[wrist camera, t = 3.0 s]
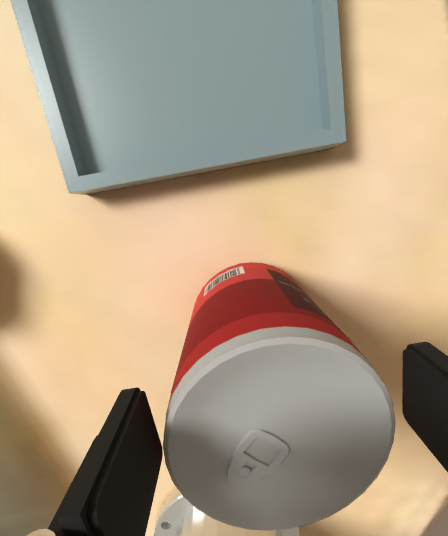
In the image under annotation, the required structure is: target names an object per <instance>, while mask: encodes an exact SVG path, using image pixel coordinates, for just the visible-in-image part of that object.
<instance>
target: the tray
mask: <svg viewBox="0 0 448 536" xmlns="http://www.w3.org/2000/svg"><path fill="white" fill-rule="evenodd" d="M10 1H11V4H12V7H13V11H14V14H15V17H16V20H17V24H18V27H19V30H20V34H21V37H22V40H23V44H24V47H25V50H26V53H27V57H28V60H29V63H30V67H31V70H32V73H33V76H34V80H35V83H36V86H37V90H38V93H39V96H40V99H41V103H42V106H43V109H44V113H45V116H46V119H47V122H48V126H49V129H50V132H51V136H52V139H53V142H54V145H55V149H56V152H57V155H58V159H59V162H60V165H61V168H62V172H63V175H64V178H65V182H66V185H67V188H68V191H69V193H70V194H85V195H87V194H92V193H97V192H103V191H108V190H113V189H119V188H124V187H129V186H135V185H140V184H145V183H151V182H156V181H161V180H167V179H172V178H177V177H183V176H188V175H193V174H199V173H204V172H209V171H215V170H220V169H225V168H231V167H236V166H241V165H247V164H252V163H257V162H263V161H268V160H273V159H279V158H284V157H289V156H295V155H300V154H305V153H310V152H316V151H321V150H326V149H332V148H334V147H336V146H338V145H340V144H342V143H344V142H346V126H345V111H344V96H343V80H342V65H341V49H340V34H339V18H338V3H337V0H10Z"/></svg>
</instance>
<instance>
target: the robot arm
mask: <svg viewBox="0 0 448 536" xmlns="http://www.w3.org/2000/svg"><path fill="white" fill-rule="evenodd" d="M403 415H404V417H405V419H406V421H407V423H408V424H409V425H410V426H411V428H412V429H413V430H414V431H415V433H416V434H417V435H418V436H419V438H420V439H421V440H422V441H423V442H424V444H425V445H426V446H427V447H428V449H429V450H430V451H431V452H432V453H433V455H434V456H435V457H436V458H437V460H438V461H439V462H440V463H441V465H442V466H443V467H444V468H445V469H446V471H447V472H448V356H447V355H445V354H444V353H443V352H441V351H440V350H438V349H437V348H436V347H434V346H433V345H431V344H430V343H428V342H421V343H415V344H409V345H408V346H407V348H406V349H405V350H404V351H403ZM161 461H162V445H161V442H160V439H159V436H158V432H157V429H156V426H155V423H154V419H153V416H152V413H151V410H150V406H149V403H148V400H147V397H146V394H145V392H144V391H140V389H139V388H131V389H125V390H122V391H121V392H120V394H119V396H118V398H117V400H116V402H115V404H114V406H113V408H112V410H111V412H110V414H109V415H108V417H107V419H106V421H105V423H104V425H103V427H102V429H101V431H100V433H99V435H98V436H96V438H95V439H94V441H93V443H92V445H91V447H90V449H89V450H88V452H87V454H86V456H85V458H84V460H83V462H82V464H81V466H80V468H79V470H78V472H77V474H76V476H75V477H74V479H73V481H72V483H71V485H70V487H69V489H68V491H67V493H66V495H65V497H64V499H63V501H62V503H61V504H60V506H59V508H58V510H57V512H56V514H55V516H54V518H53V520H52V522H51V524H50V526H49V528H48V529H40V530H37V531H34V532H32V533H29V534H28V535H26V536H145V533H146V528H147V524H148V519H149V515H150V510H151V506H152V502H153V497H154V493H155V488H156V484H157V479H158V475H159V470H160V466H161ZM154 536H300V529H299V527H296V528H292V529H284V530H273V531H264V530H249V529H244V528H239V527H234V526H230V525H227V524H225V523H222V522H220V521H217V520H215V519H212V518H211V517H209V516H207V515H206V514H204V513H203V512H201V511H199V510H198V509H196V508H195V507H194V506H193V505H192V504H191V503H190V502H189V501H188V500H186V499H185V498H184V497H183V496H182V494H181V493H180V491H179V490H178V489H177V490H175V491H174V492H173V493H172V494H171V495H170V496H169V497H168V498H167V499H166V501H165V502H164V504H163V505H162V507H161V509H160V511H159V514H158V517H157V522H156V527H155V533H154Z"/></svg>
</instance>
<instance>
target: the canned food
mask: <svg viewBox="0 0 448 536" xmlns="http://www.w3.org/2000/svg"><path fill="white" fill-rule="evenodd" d="M394 431H395V416H394V409H393V403H392V400H391V398H390V395H389V393H388V391H387V388H386V386H385V384H384V383H383V381H382V380H381V379H380V377H379V376H378V374H377V372H376V371H375V370H374V368H373V367H372V366H371V364H370V363H369V362H368V360H367V359H366V357H365V356H364V355H363V354H362V353H361V352H360V351H359V350H358V349H357V348H356V347H355V346H354V345H353V343H352V342H351V341H350V340H349V339H348V337H347V336H346V335H345V334H344V333H343V332H342V331H341V330H340V329H339V328H338V327H337V326H336V325H335V324H334V323H333V322H332V321H331V320H330V319H329V318H328V317H327V316H326V315H325V313H324V312H323V311H322V310H321V309H320V308H319V307H318V306H317V305H316V304H315V303H314V302H313V301H312V300H311V299H310V298H309V297H308V296H307V295H306V294H305V293H304V292H303V291H302V290H301V288H300V287H299V286H298V285H297V284H296V283H295V282H294V281H293V280H292V279H291V278H290V277H289V276H287V275H286V274H285V273H284V272H283V271H281V270H279V269H277V268H275V267H273V266H270V265H266V264H263V263H252V262H251V263H242V264H238V265H234V266H231V267H228V268H226V269H225V270H223V271H221V272H219V273H218V274H216V275H215V276H214V277H213V278H211V279H210V280H209V281H208V282H207V284H206V285H205V286H204V287H203V288H202V290H201V292H200V294H199V296H198V297H197V300H196V303H195V306H194V309H193V313H192V317H191V321H190V324H189V328H188V332H187V335H186V339H185V343H184V347H183V350H182V354H181V358H180V361H179V365H178V369H177V372H176V376H175V380H174V384H173V387H172V391H171V397H170V401H169V405H168V409H167V413H166V422H165V430H164V441H163V449H164V456H165V463H166V466H167V469H168V471H169V474H170V476H171V479H172V481H173V483H174V484H175V486H176V487H177V488H178V490H179V491H180V493H181V494H182V496H183V497H184V498H185V499H186V500H188V501H189V502H190V503H191V504H192V505H193V506H194V507H195V508H196V509H198V510H199V511H201V512H203V513H204V514H206V515H207V516H209V517H211V518H212V519H215V520H217V521H220V522H222V523H225V524H227V525H230V526H234V527H239V528H244V529H249V530H264V531H273V530H284V529H292V528H296V527H300V526H304V525H308V524H312V523H314V522H317V521H319V520H322V519H324V518H327V517H329V516H331V515H333V514H335V513H336V512H338V511H340V510H341V509H343V508H345V507H346V506H348V505H349V504H350V503H352V502H353V501H354V500H355V499H357V498H358V497H359V496H360V495H361V494H363V493H364V492H365V491H366V489H367V488H368V487H369V486H370V485H371V484H372V482H373V481H374V480H375V479H376V478H377V477H378V475H379V473H380V471H381V470H382V468H383V466H384V464H385V463H386V461H387V459H388V456H389V453H390V450H391V447H392V444H393V440H394Z"/></svg>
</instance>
